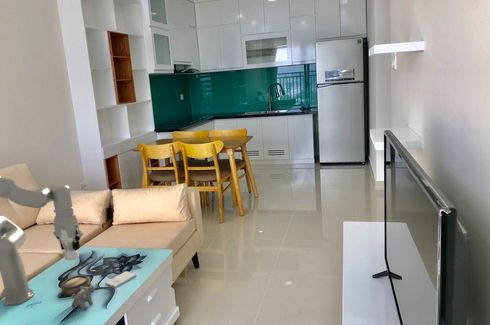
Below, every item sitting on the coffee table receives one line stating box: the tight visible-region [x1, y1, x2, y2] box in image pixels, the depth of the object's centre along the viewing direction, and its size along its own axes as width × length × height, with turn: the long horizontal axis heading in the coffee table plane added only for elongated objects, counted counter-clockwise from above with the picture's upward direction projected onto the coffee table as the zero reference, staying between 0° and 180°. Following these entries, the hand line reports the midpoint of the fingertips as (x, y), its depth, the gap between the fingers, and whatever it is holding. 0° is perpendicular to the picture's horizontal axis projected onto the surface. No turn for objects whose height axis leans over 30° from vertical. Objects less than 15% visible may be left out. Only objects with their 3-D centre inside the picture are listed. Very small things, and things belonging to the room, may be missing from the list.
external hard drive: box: [104, 270, 137, 289], centre depth 197 cm, size 2×8×12 cm
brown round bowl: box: [60, 274, 92, 296], centre depth 193 cm, size 13×13×4 cm
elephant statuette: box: [71, 285, 96, 311], centre depth 178 cm, size 9×12×8 cm
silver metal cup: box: [60, 229, 80, 261], centre depth 187 cm, size 7×7×15 cm
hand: (70, 248), depth 187 cm, fingers closed on silver metal cup, 6 cm apart
